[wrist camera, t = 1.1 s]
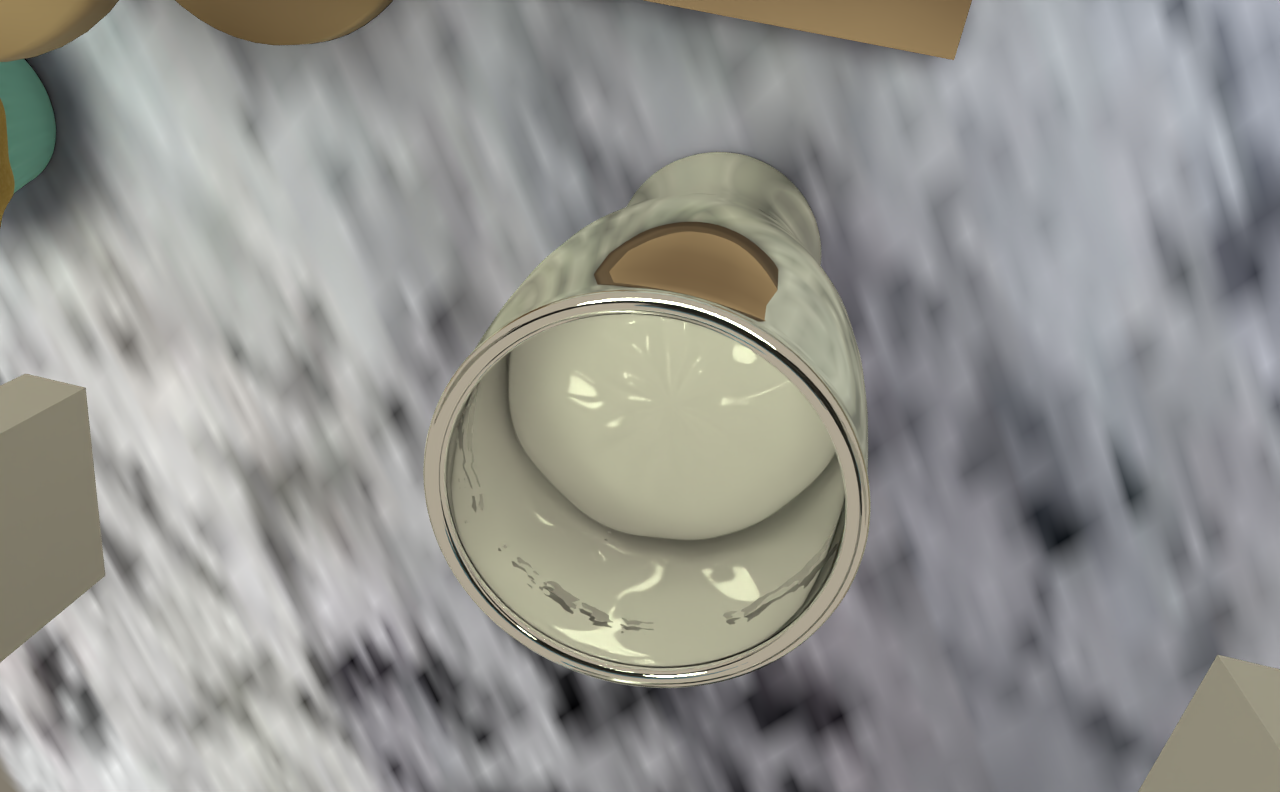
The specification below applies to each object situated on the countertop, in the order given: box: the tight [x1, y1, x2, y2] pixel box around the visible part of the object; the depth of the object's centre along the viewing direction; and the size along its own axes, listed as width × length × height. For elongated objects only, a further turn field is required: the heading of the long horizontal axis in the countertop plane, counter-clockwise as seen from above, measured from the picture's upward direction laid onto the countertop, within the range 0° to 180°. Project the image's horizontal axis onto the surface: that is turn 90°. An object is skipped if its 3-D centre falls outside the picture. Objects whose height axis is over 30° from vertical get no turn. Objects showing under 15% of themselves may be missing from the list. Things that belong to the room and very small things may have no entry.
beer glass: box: [423, 152, 871, 688], centre depth 20 cm, size 7×7×15 cm
